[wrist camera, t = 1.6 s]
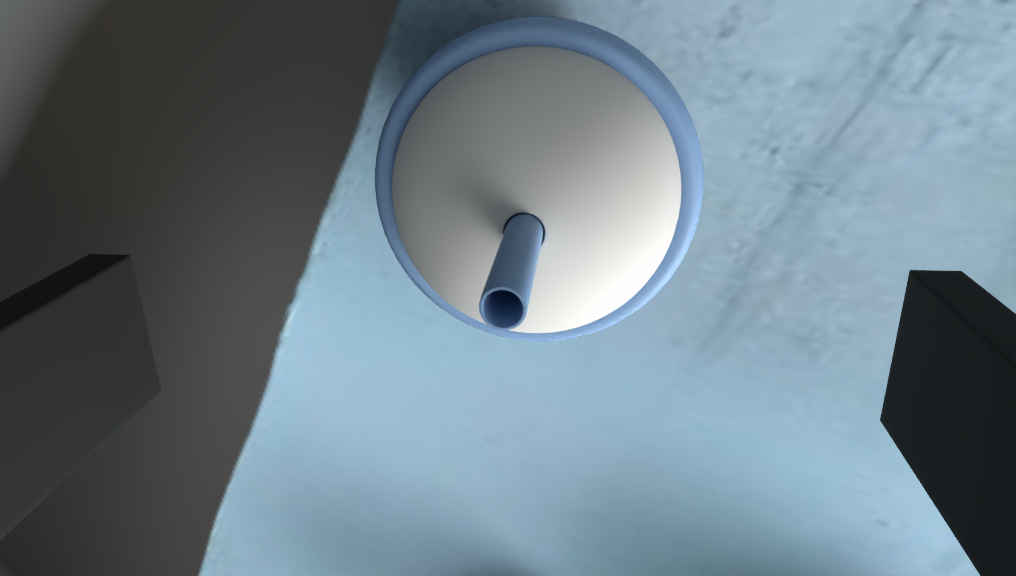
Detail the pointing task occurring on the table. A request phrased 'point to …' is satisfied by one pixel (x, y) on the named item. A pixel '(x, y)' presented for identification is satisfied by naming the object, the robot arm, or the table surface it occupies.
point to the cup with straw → (539, 178)
